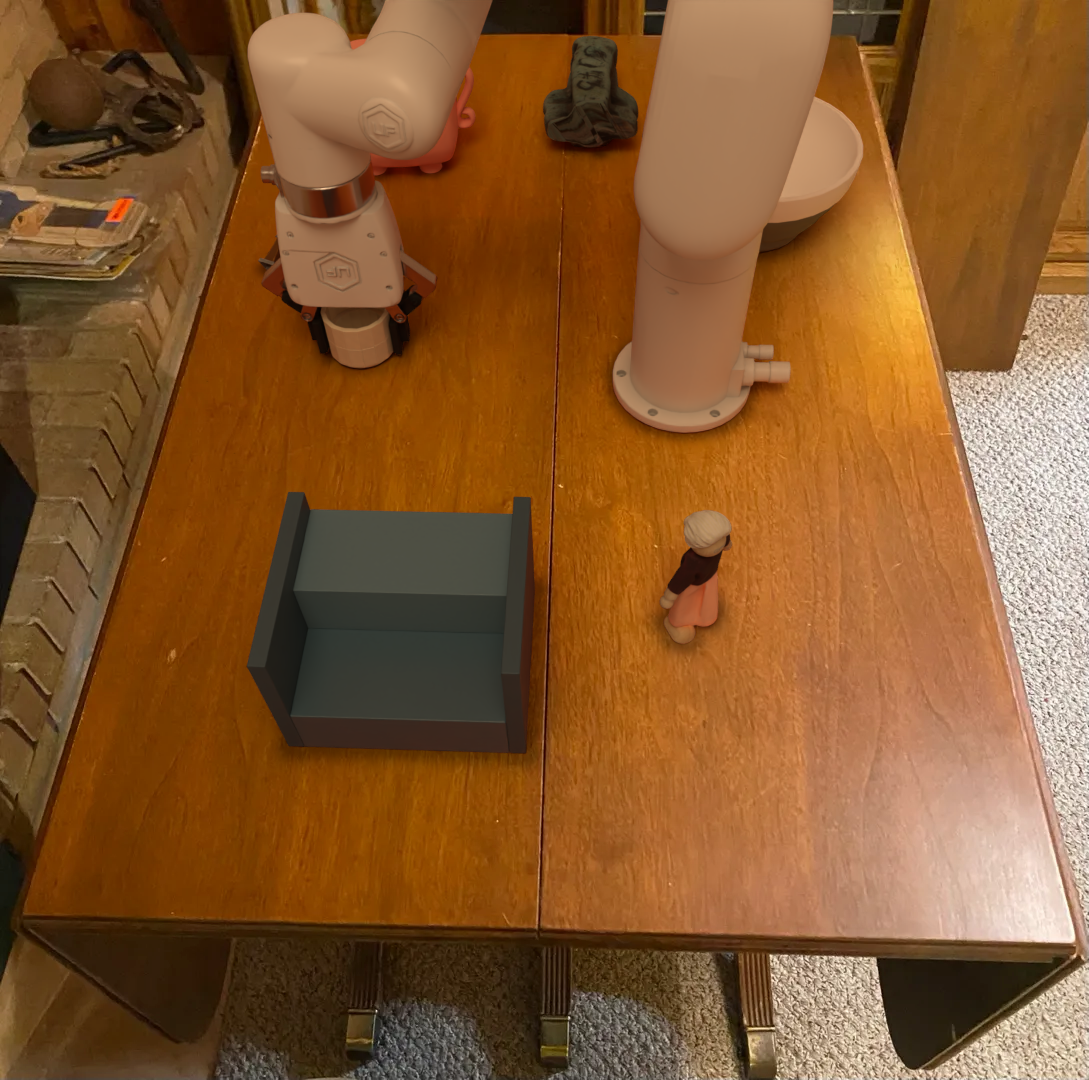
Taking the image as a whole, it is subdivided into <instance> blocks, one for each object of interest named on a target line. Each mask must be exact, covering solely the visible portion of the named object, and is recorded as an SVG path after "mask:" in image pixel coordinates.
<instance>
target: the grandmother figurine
mask: <svg viewBox="0 0 1089 1080" xmlns="http://www.w3.org/2000/svg"><path fill="white" fill-rule="evenodd" d="M683 525H684V526H683V527H684V528H683V536H684V542H685V543H686V545H687V546H688V547H689V548H688V549H687V550H686V551H685V552H684V553H683V554H682V556H681V558H680V562H679V567H678V568H677V569H676V571H675V572H674V574H673V575H672V577H671V579H670V580H669V582H668V583H667V586H666V588H665V589H664V591H663V595H662V596H661V597H660V599H659V605H660V607H661V608H662V609H664V610H669V611H668V614H667V616H665V617H664V619H663V626H664V628H665V629H666V632H667V633H668V634H669V636H670V638H671V639H672V640H673V641H674V642H675V643H677V644H681V645H685V644H688V643H690V642H692V641H694V639H695V637H696V633H697V631H696V628H695V626H699V627H709V626H711V625H713V624H714V623H715V622H717V619H718V613H719V577H718V575H719V574H718V570H719V564H720V562H721V558H722V554H723V552H729V551H730V550H731V549H732V547H733V541H732V539H731V532H732V527H733V526H732V524H731V521H730V520H729V519H728V517H727V516H726V515H724V514H722V513H721V512H719V511H716V510H711V509H703V510H699V511H694V512H692V513H691V514H689V515H687V516H686V517H685V518H684V519H683Z"/></svg>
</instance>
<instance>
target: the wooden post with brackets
mask: <svg viewBox="0 0 1089 1080" xmlns="http://www.w3.org/2000/svg"><path fill="white" fill-rule="evenodd" d="M274 238H275V241H274V243H273V244H272V246H271V248H270V249H269V250H268V252H267V254H266V255H265V257H264V258H262V257H259V259H258V260H257V262H259V264H260V265H261V266H262V267H263V268H264V269H265V270H266V271H267V270H268V269H269V268H270V267H271V266H272V265H273V264H274V263H275V262H276V261H277V260H278V259H279V258H280V251H279V244H278V237H277V234H276V235H275V237H274Z"/></svg>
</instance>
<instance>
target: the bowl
mask: <svg viewBox="0 0 1089 1080" xmlns="http://www.w3.org/2000/svg"><path fill="white" fill-rule="evenodd" d="M863 158H864V142H863V139H862V136H861V133H860V131H859V130H858V128H857V127H856V125H855V124H854V123H853V121H852V120H850V118H849V117H848V116H847V115H846V114H845V113H844V112H842V111H841V110H840V109H838V108H837V107H835V106H834V105H832V104H831V103H830V102H826V101H825V100H823V99H821V98H818V97H817V96H816V95H815V96H814V99H813V102H812V105H811V108H810V111H809V114H808V117H807V120H806V123H805V126H804V129H803V132H802V135H801V138H800V141H799V144H798V147H797V150H796V153H795V156H794V159H793V162H792V165H791V168H790V171H789V174H788V176H787V179H786V182H785V185H784V188H783V191H782V193H781V196H780V199H779V201H778V204H777V206H776V208H775V211H774V213H773V214H772V216H771V218H770V220H769V221H768V223H767V225H766V226H765V227H764V229H763V233H762V238H761V243H760V249H759V253H761V252H770V251H772V250H777V249H780V248H782V247H784V246H786V245H788V244H790V243H791V242H792V241H793V240H795V239H796V238H797V237H798V236H799V234H801V233H802V232H804V231H806V230H807V229H809V228H810V227H811V226H813V225H815V223H817V221H818V220H820V218H821V217H822V216H824V215H825V214H827V213H828V212H829V211H830V210H831V209H832V208H833V207H834V206H835V205H836V204H837V203H839V201H841V199H842V198H843V197H844V196H845V195H846V193H847V192H848V191H849V189H850V187H851V185H853V182H854V180H856V179H855V178H856V176H857V175H858V171H859V169H860V167H861V163H862V161H863Z"/></svg>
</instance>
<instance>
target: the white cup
mask: <svg viewBox="0 0 1089 1080" xmlns="http://www.w3.org/2000/svg"><path fill="white" fill-rule="evenodd" d="M321 317H322V321H323V324H324V328H325V332H326V336H327V340H328V344H329V351H330V354H331V356H332V358H333V359H335V360H336V361H337V362H338V363H339V364H340V365H343V366H346V367H349V368H354V369H368V368H372V367H376V366H378V365H380V364H382V363H383V362H384V361H386V360H387V359H389V358H390V356H391V355H392V354H393V353H394V352H393V347H392V341H391V336H390V331H389V319H390V314H389V313H388V312H387V310H386V309H385V308H356V307H322V308H321Z"/></svg>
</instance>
